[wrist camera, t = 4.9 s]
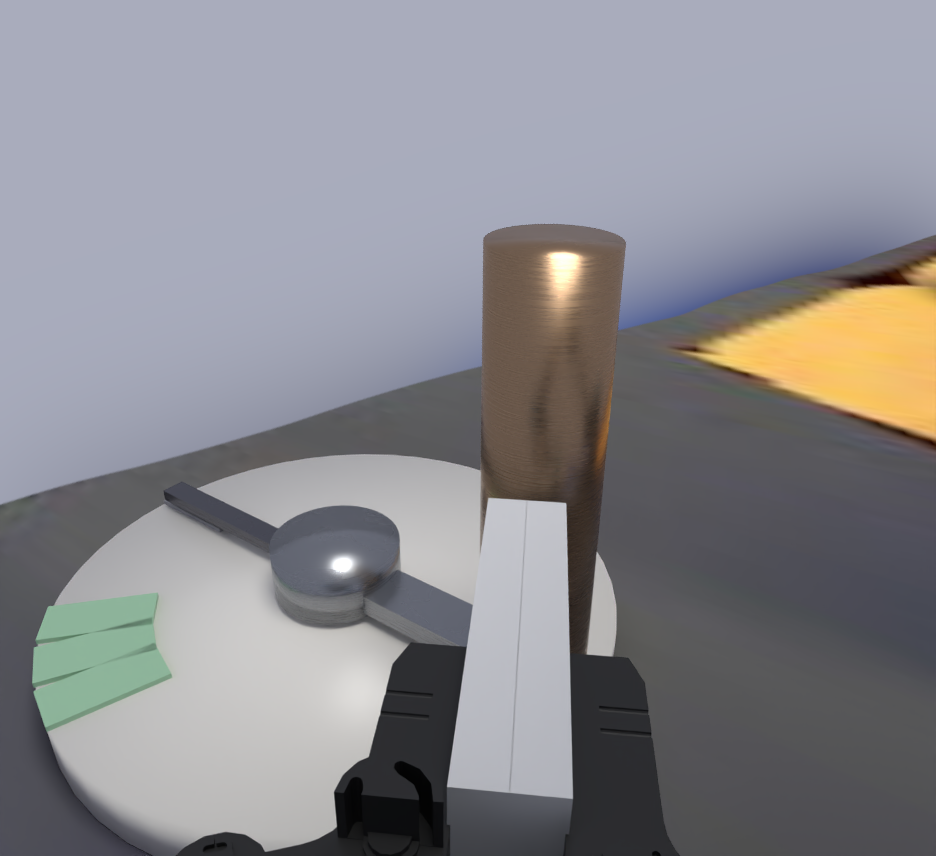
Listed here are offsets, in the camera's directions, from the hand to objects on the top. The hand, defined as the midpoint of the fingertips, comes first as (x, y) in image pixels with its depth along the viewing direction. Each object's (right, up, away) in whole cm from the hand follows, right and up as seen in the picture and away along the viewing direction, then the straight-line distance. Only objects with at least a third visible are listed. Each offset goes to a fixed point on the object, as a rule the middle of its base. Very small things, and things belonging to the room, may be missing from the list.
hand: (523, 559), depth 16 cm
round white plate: (-6, -6, +17) cm, 19 cm away
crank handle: (-6, -4, +16) cm, 17 cm away
